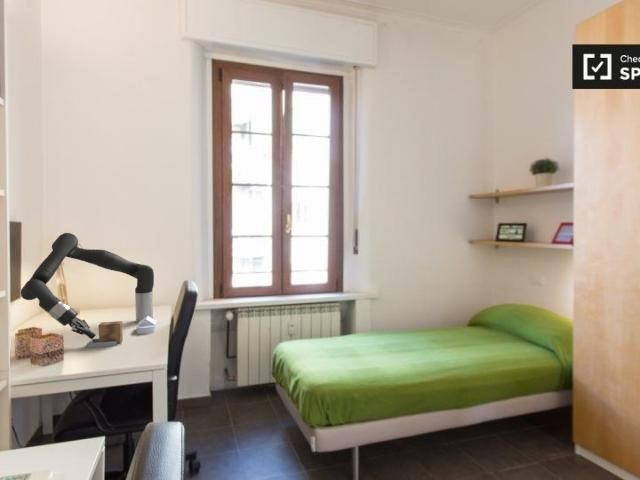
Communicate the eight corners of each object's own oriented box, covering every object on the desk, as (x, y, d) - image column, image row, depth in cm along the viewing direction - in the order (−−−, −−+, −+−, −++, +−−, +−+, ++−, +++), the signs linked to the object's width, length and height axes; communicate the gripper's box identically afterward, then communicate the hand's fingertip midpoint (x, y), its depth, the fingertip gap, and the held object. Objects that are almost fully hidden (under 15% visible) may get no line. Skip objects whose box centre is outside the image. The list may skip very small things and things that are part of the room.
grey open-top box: (87, 348, 173) (87, 343, 173) (92, 342, 180) (91, 338, 180) (116, 345, 176) (116, 341, 176) (119, 340, 184) (119, 336, 184)
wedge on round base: (138, 328, 206) (135, 335, 194) (138, 316, 206) (135, 322, 193) (156, 327, 209) (154, 333, 197) (156, 315, 209) (154, 320, 196)
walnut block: (99, 346, 176) (98, 325, 175) (101, 343, 180) (101, 322, 180) (120, 344, 178) (120, 323, 178) (122, 341, 183) (122, 321, 183)
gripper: (61, 316, 178) (91, 339, 183) (51, 323, 166) (83, 347, 170) (74, 304, 180) (103, 327, 184) (64, 310, 167) (96, 335, 171)
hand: (93, 337), depth 177 cm, fingers closed
